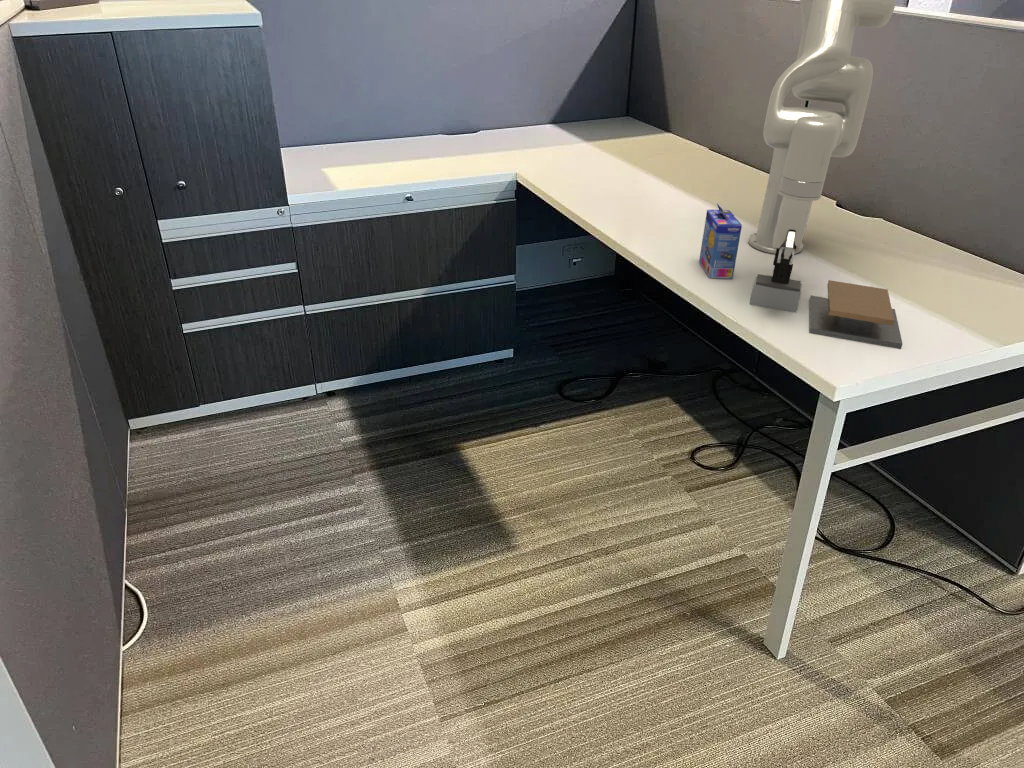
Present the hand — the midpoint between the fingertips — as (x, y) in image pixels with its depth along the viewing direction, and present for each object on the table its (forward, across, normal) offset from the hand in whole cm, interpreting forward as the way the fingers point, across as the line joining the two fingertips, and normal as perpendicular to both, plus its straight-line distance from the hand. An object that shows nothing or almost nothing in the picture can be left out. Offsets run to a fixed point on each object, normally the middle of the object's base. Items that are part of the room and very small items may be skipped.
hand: (780, 274), depth 150 cm
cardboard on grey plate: (+7, +2, +15) cm, 17 cm away
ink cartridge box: (+6, -14, -13) cm, 20 cm away
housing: (+7, -1, 0) cm, 7 cm away
